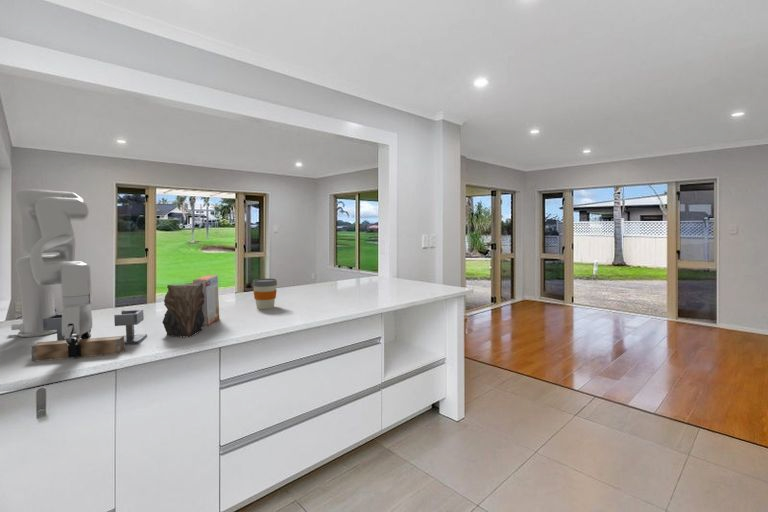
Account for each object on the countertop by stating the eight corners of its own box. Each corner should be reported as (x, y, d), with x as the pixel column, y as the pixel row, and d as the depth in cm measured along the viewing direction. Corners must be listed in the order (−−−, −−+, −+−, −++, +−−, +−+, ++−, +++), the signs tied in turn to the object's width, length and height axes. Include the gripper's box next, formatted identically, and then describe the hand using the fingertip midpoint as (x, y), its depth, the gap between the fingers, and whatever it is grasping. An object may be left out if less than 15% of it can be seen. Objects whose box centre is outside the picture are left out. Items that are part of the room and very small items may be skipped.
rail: (32, 361, 116) (30, 345, 116) (39, 356, 120) (38, 342, 119) (120, 353, 123) (119, 339, 123) (124, 349, 127) (123, 335, 127)
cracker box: (206, 319, 171) (205, 275, 170) (219, 318, 172) (218, 275, 170) (193, 327, 157) (192, 279, 156) (208, 326, 158) (206, 279, 156)
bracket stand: (40, 351, 125) (38, 320, 124) (56, 343, 134) (54, 313, 133) (138, 343, 134) (137, 314, 133) (146, 336, 143) (145, 308, 142)
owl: (161, 335, 145) (159, 285, 143) (185, 327, 157) (183, 281, 155) (188, 337, 142) (187, 287, 140) (210, 329, 154) (209, 282, 153)
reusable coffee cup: (273, 309, 191) (272, 281, 190) (249, 309, 192) (248, 281, 190) (280, 304, 204) (279, 278, 203) (258, 304, 204) (257, 278, 203)
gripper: (76, 296, 127) (79, 346, 129) (48, 306, 111) (52, 363, 112) (101, 295, 130) (104, 344, 131) (78, 304, 113) (81, 360, 115)
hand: (80, 352), depth 122 cm, fingers open, 6 cm apart
